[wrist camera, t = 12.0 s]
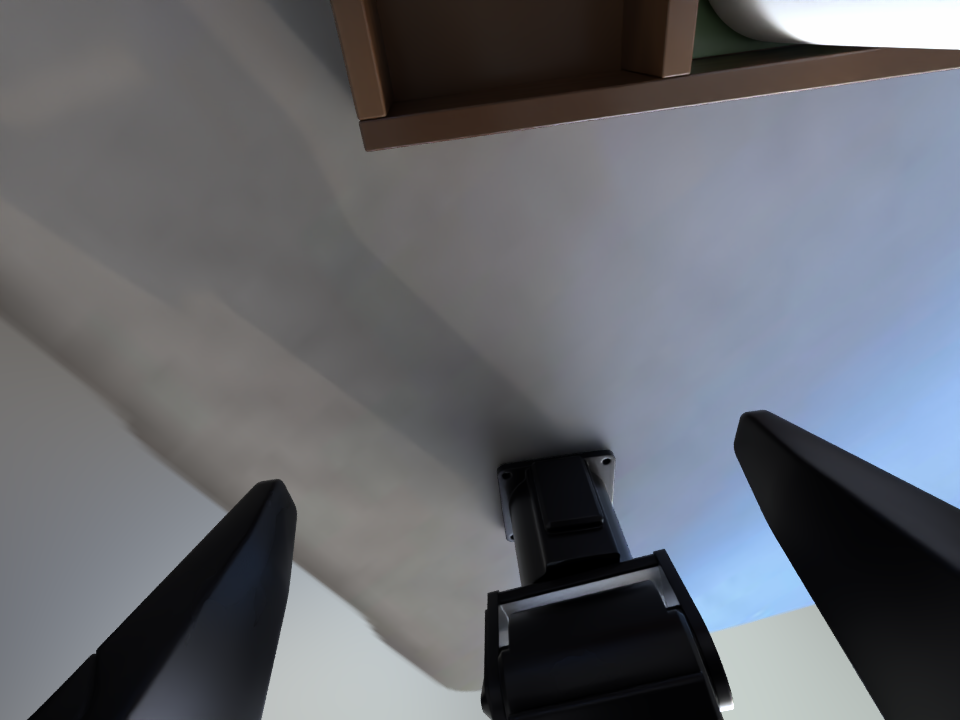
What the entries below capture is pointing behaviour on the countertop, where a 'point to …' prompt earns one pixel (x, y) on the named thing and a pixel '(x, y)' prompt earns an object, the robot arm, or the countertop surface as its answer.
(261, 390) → the countertop surface
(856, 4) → the can
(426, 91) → the divided wooden tray
